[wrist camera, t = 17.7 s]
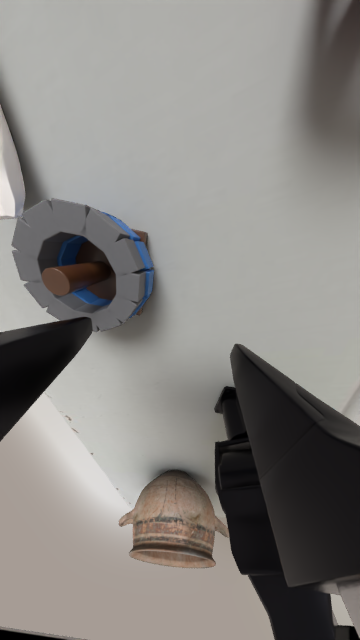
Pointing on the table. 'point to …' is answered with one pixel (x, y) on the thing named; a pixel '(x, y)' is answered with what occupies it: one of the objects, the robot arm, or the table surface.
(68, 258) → the blue ring
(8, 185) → the toy fish
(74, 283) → the peg stand
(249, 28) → the table surface
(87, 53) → the table surface
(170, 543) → the cooking pot
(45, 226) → the grey ring
